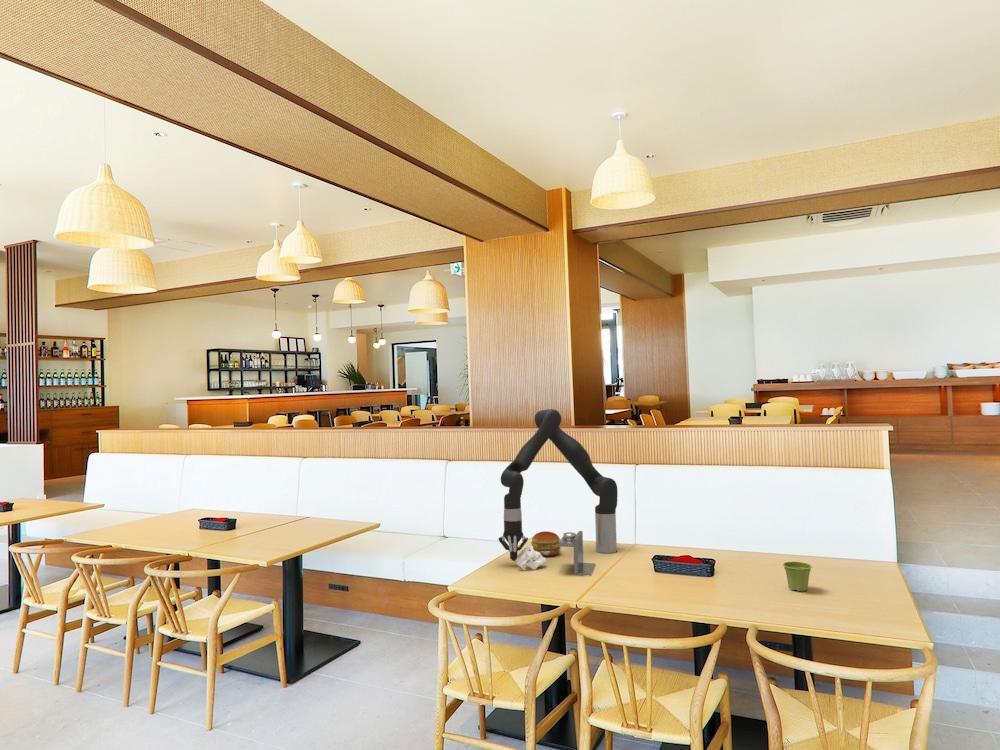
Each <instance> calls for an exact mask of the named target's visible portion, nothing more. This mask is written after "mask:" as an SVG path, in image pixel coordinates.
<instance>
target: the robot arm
mask: <svg viewBox="0 0 1000 750" xmlns="http://www.w3.org/2000/svg"><path fill="white" fill-rule="evenodd" d="M561 423H562V415H561V413H560V412H559V411H558V410H556V409H553V408H550V409H549V408H548V409H542V410H538V411H537V412H536V413H535V415H534V424H535V426H536V427H537V428H538V429H537V431H536V432H535V433H534V434H533V436H532V437H531V438H530V439H529V440H528V441H527V442H525V443H524V445H523V446H522V447H521V448H520V450H519V452H518V453H517V455H516V456H515V458H514V459H513V461H511V462H510V463H509V464H508V466H506V467H505V469H504V470H503V471H502V473H501V475H500V483H501V485H502V486H503V487H506V488H508V493H506V494H505V495H504V496H503V506H504V507H503V533H502V536H499V537H498V539H497V540H498V542H499V543H500V544H501V545H502V547H503V549H505V551H509V558H510V560H511V561H513V562H515V561H516V560H517V559H518V557H517V555H518V552H519V551H520V552H521V551H522V550H523V549H522V548H523V547H524V546H525V545H526V543H527V542H528V541H529V538H528V537H526V536H525V535H524V533H523V516H522V503H521V497H522V494H523V488H524V476H523V475H522V473H523V472H525V471H528V469H529V468H530V466H531V465H532V463H533V462H534V460H535V458H536V457H537V456H538V455H537V454H538V453H539V452H540V451H541V450H542V448H543V446H544V445H545V444H546V442H547V441H548V440H549V441H551V442H552V444H553V446H555V447H556V448H557V449H558V451H559V452H560V453H561V454H562V456H563V457H564V458H565V459H566V461H567V462H568V463H569V464H570V465H571V466H572V467H573V468H574V470H575V471H576V472H577V473H578V474H579V475H580V476H581V477H582V479H583V480H584V481H585V482H586V484H587V486H588V487H589V489H590V490H591V492H592V493H593V495H595V496H597V497H599V503H598V504H597V505H596V506H595V507H594V515H595V516H594V517H595V546H596V547H595V551H596V552H598V553H601V554H614V553H616V552H617V549H618V547H617V516H616V515H617V513H616V511H617V507H618V484H617V482H616V481H615V479H613V478H611V477H605V476H603V475H602V474H601V473H600V472H599V471H598V470H597V469H596V468H595V466H594V465H593V463H592V460H591V456H590V454H589V453H588V451H587V450H586V448H585V447H583V445H582V444H581V443H580V442H579V441H578V440H577V439H576V438H574V437H572V436H571V435H569V434H568V433H566V432H565V431H563V429H562V428H561V427H560V426H561ZM520 541H521V543H520V545H519V542H520Z"/></svg>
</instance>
